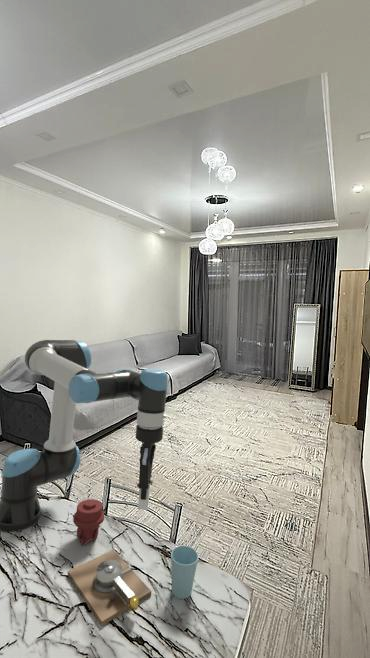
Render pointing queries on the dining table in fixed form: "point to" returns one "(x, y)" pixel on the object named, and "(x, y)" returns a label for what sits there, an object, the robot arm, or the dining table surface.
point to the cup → (183, 570)
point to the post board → (106, 600)
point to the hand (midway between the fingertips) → (142, 508)
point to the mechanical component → (88, 519)
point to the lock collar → (115, 581)
